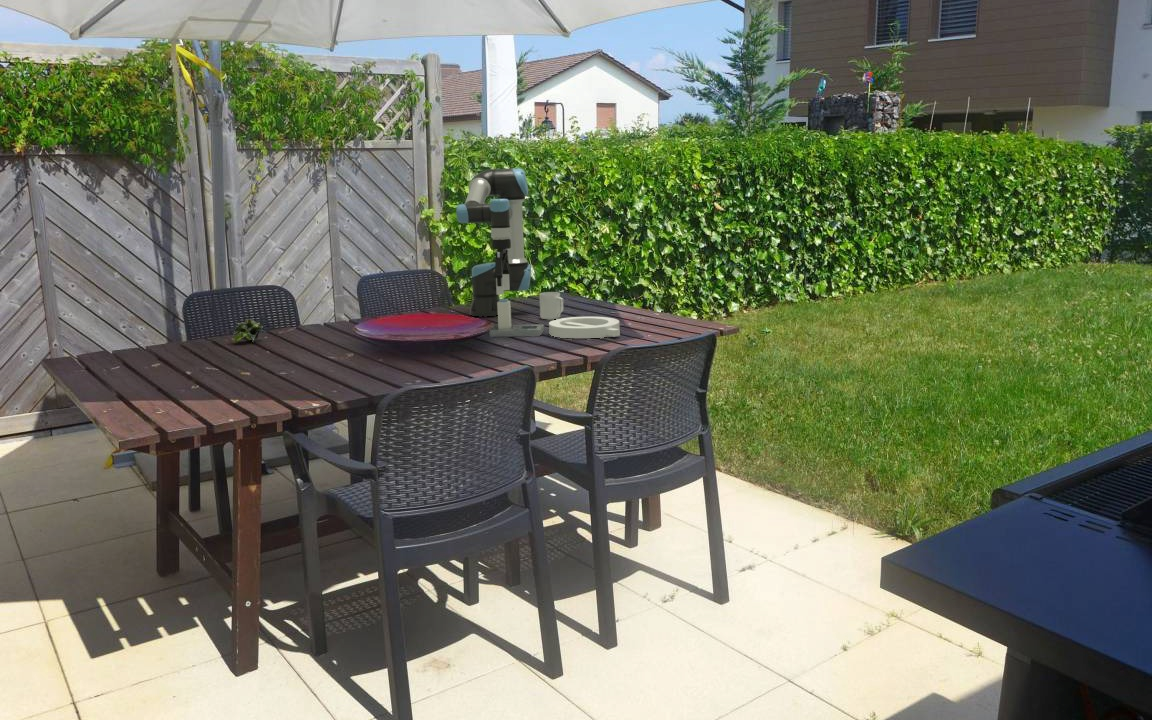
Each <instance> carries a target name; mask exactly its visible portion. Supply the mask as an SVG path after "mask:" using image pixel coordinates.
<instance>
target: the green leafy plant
mask: <svg viewBox="0 0 1152 720" xmlns="http://www.w3.org/2000/svg"><path fill="white" fill-rule="evenodd" d="M237 325H238V327H235V328H234V329H235V330H234V331H233V336H234V337H233V339H232V343H233V342H236V343H237V342H239V341H241V340H243V339H245V338H246V339H248V340H249V341H250V340H251V339H252V341H251V343H252V342H253V343H254V341H255V340H258V339H259V334H260V333H261V334H265V333H266V330H264V324H263V323H262V324H261V322H258V321H255V320H254V319H251V318H249V319H247V320H243V322H240V323H239V322H238V323H237ZM257 338H258V339H257Z"/></svg>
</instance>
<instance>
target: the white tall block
mask: <svg viewBox="0 0 1152 720" xmlns="http://www.w3.org/2000/svg"><path fill="white" fill-rule="evenodd" d="M497 309H498V316H497V325H498V329H511V325H512V310H511V309H512V308H511V300H509V299H508V298H499V302H497Z"/></svg>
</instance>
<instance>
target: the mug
mask: <svg viewBox="0 0 1152 720" xmlns="http://www.w3.org/2000/svg"><path fill="white" fill-rule="evenodd" d="M538 295H539V316H540V318H541V319H542V320H543V319H548V320H547V321H553V320H554V319H556V320H557V319H560V318H561V313H563V312H564V298H563V297H561V294H560V292H557V291H547V292H540V293H539V294H538Z"/></svg>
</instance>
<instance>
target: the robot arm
mask: <svg viewBox="0 0 1152 720" xmlns="http://www.w3.org/2000/svg"><path fill="white" fill-rule="evenodd" d="M528 195H529V187H528V180H527V176H526V172H525V170H524V169H523V168H515V167H513V168H488V169H485V170H483V171H480V172H478V173H477V174H475V175H474V176H473V177H472V179H470V181H469V183H468V194H467V196H466V199H465V202H464V203H462V204H457V205H456V214H455V215H456V220H457V222H458V223H459V224H478V223H479V224H480V223H481V224H482V223H490V238H491V249H492V250H496V252H495V253H494V254H495V261H493V262H486V263H481V264H476V265H474V266H473V267H472V268H471V282H472V283H471V284H472V285H471V288H472V301H471V304H470V308H469V316H470V315H472V316H479V317H478V318H488V317H487V316H494V317H497V316H496V315H498V309H497V302H499V300H500V297H499V296H500V295H501V296H503V295H505V292H524V291H528V290H529V288H530V284H531V277H532V265H531V264H529V263H528V259H527V258H526V257H525V249H524V248H525V243H524V226H523V225H524V223H523V203H524V202H525V200H526V196H528ZM487 197H498V198H492V199H490V201H489V203H485V201H486V199H487ZM472 316H471V317H472ZM482 316H484V317H482Z"/></svg>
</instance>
